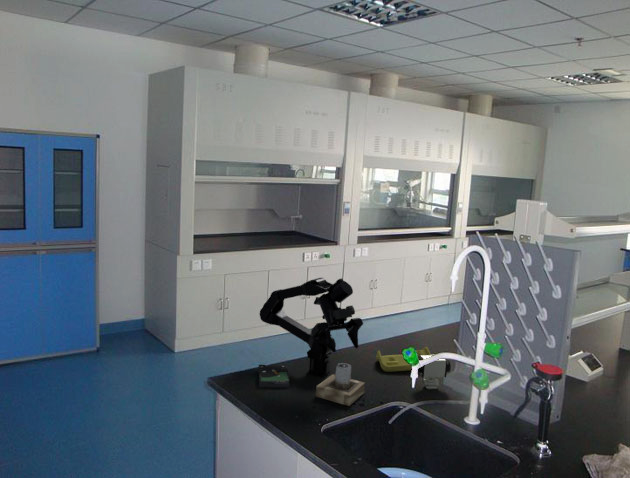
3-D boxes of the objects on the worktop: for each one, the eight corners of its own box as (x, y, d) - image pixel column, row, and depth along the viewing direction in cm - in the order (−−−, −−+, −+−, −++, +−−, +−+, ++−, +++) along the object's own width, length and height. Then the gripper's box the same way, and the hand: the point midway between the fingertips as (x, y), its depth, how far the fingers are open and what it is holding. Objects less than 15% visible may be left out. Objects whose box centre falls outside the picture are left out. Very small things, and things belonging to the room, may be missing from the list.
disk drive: (257, 371, 186) (259, 388, 171) (258, 364, 185) (259, 380, 171) (286, 371, 187) (289, 388, 173) (286, 364, 187) (290, 380, 172)
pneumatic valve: (448, 390, 178) (452, 357, 176) (416, 390, 176) (419, 357, 174) (442, 383, 183) (445, 351, 182) (411, 383, 181) (414, 351, 180)
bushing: (331, 392, 170) (333, 363, 169) (344, 390, 173) (346, 362, 171) (338, 399, 166) (340, 369, 165) (352, 396, 168) (354, 367, 167)
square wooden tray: (315, 396, 167) (316, 385, 166) (332, 383, 177) (332, 373, 177) (349, 406, 161) (350, 395, 161) (364, 392, 172) (364, 382, 171)
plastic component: (383, 367, 189) (377, 347, 198) (381, 380, 194) (375, 360, 202) (434, 363, 192) (426, 343, 200) (431, 376, 196) (423, 357, 205)
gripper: (317, 300, 170) (333, 342, 162) (362, 295, 180) (379, 335, 172) (304, 316, 178) (319, 357, 170) (347, 311, 187) (363, 350, 180)
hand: (346, 349), depth 173 cm, fingers open, 9 cm apart
